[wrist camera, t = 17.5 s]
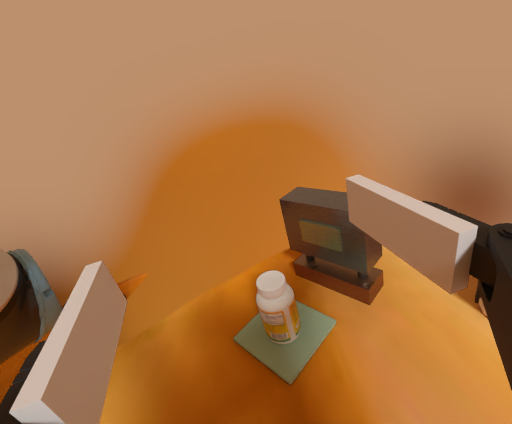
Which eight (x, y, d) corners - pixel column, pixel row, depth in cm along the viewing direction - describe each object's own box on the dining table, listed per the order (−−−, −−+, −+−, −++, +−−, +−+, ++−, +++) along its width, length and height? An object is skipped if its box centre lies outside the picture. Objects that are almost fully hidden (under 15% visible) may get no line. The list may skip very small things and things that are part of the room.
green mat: (234, 340, 41) (233, 338, 40) (279, 294, 47) (279, 292, 47) (290, 385, 33) (289, 382, 33) (336, 322, 39) (335, 320, 39)
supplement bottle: (278, 353, 36) (262, 301, 32) (260, 327, 41) (243, 279, 37) (309, 331, 38) (298, 280, 34) (288, 309, 43) (276, 261, 39)
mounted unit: (295, 275, 50) (278, 200, 43) (311, 259, 53) (297, 186, 46) (368, 306, 40) (361, 214, 33) (383, 284, 43) (379, 196, 36)
